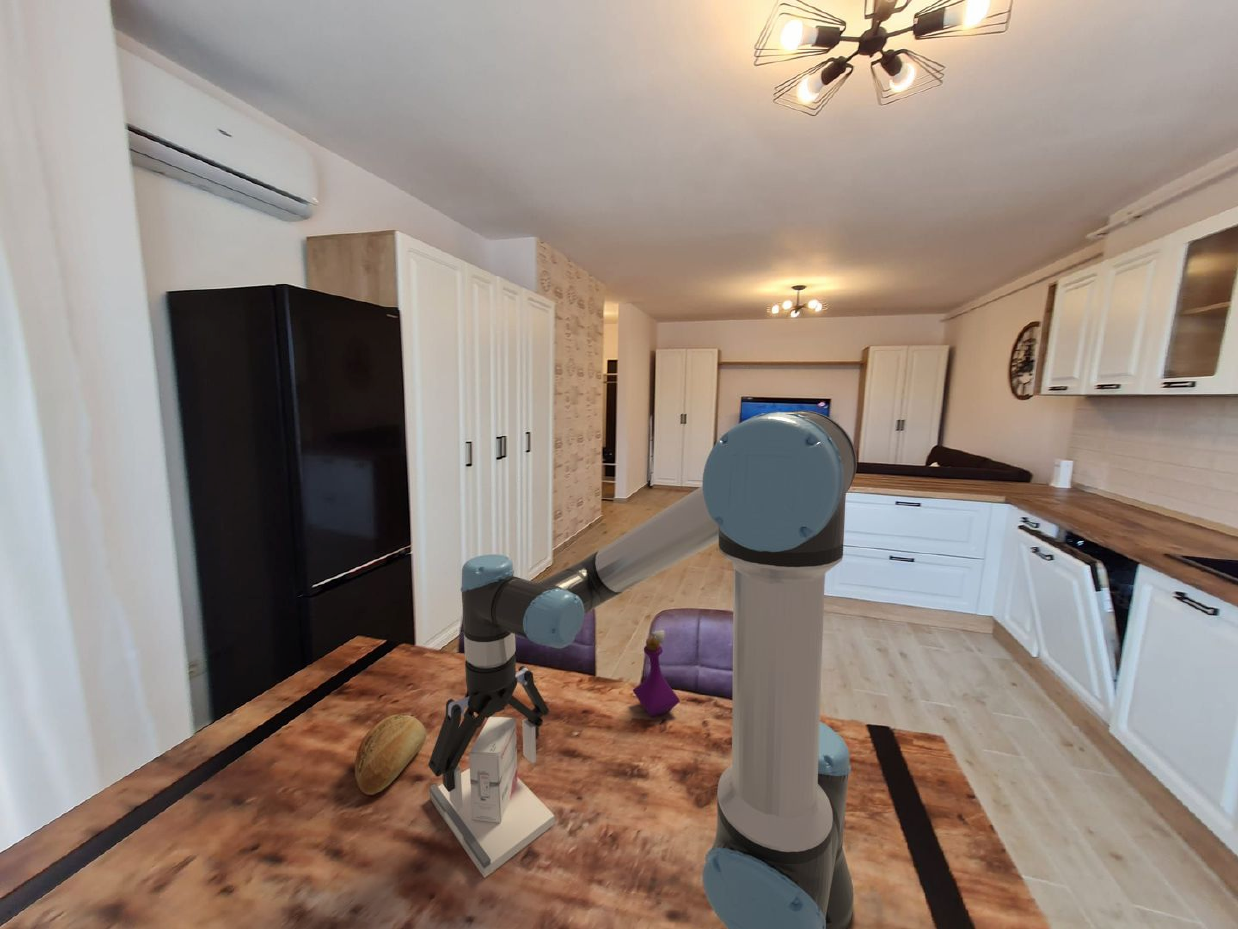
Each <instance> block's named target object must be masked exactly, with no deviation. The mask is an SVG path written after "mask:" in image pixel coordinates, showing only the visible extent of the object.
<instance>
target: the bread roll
mask: <svg viewBox="0 0 1238 929" xmlns="http://www.w3.org/2000/svg"><path fill="white" fill-rule="evenodd" d="M426 740H427V730H426V728H425V725H424V724H423V723H422V722H421V721H420V720H418V719H417V718H416V717H414V716H411V715H409V714H408V715H405V714H392V715H389V716H387V717H384V719H381V720H380V721H379V722H378V723H376V724H375V725H374V726H373V727H372V728H371V729H370V730H369V731H368V732H367V733H366V734H365V736H364V737H363V739H362V740H361V743H360V744H359V747H358V749H357V751H356V755H355V762H354V776H355V780H356V783H357V786H358V787H359V789H360V791H361V792H362V793H363V794H366V795H369V796H372V795H375V794H377V793H380V792H382V791H383V790H384V789H386V788H387V787H388V786H389V785H391V784H392V783H393V781H394V780H395V779H396V778H397V777H398V776H399V775H400V773H402V771H404V769H405V768H406V767H407V765H408V764H409V763H410V762H411V761H412V760H413V758H414V757H415V756H416V755H417V754H418V753H419V751H420V750H421V749H422V747H424V744H425V742H426Z"/></svg>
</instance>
